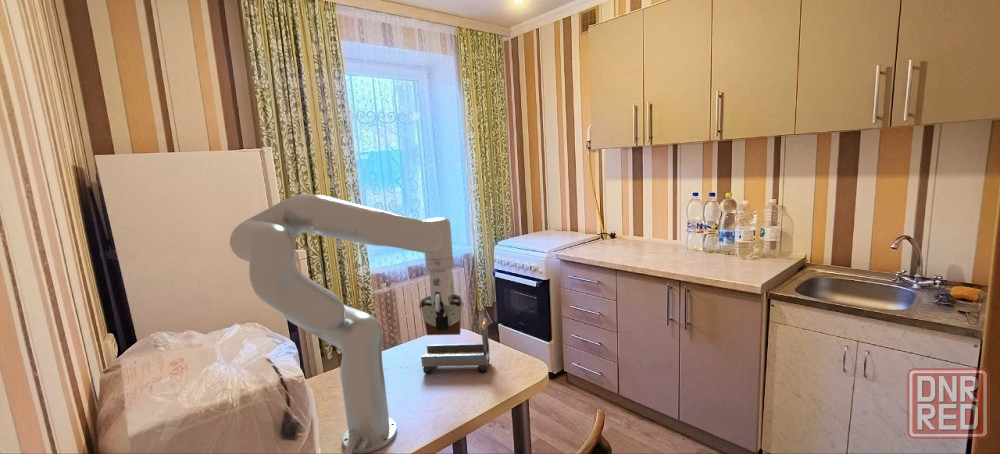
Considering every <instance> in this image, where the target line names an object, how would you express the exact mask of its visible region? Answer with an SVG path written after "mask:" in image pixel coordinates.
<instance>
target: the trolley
mask: <svg viewBox="0 0 1000 454" xmlns="http://www.w3.org/2000/svg"><path fill="white" fill-rule="evenodd" d="M480 330H481V338H482V339H481V340H482V343H449V344H445V343H444V344H443V343H441V344H440V343H439V344H427V345H426V350H427V351H426V353H425V355H423V354H422V355H421V356H420V358H421V367H423V368H422V370H423V373H424V374H426V375H431V374H432V373H433V372H434V368H435V367H461V366H462V367H463V366H465V367H467V366H477V370H478V372H479V373H480V374H485V373H487V372H488V369H489V365H488V364H489V363H490V359H491V358H490V352H491V351H490V342H489V331H488V330H489V328H488V318H486V317H484V318H483V320H482V323H481V327H480Z"/></svg>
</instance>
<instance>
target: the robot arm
mask: <svg viewBox="0 0 1000 454" xmlns="http://www.w3.org/2000/svg"><path fill="white" fill-rule="evenodd" d="M303 233H305V234H310V235H316V236H321V237H325V238H326V237H327V238H332V239H337V240H343V241H347V242H353V243H357V244H364V245H369V246H375V247H376V246H378V247H387V248H388V247H390V248H397V249H401V250H405V251H410V252H417V253H423V254H424V261H425V270H426V271H428V272H429V290H430V296H431V303H432V306H433V307H435V317H436V329H437V330H448V317H447V316H446V306H450V304H451V302H452V300H453V298H454V294H455V295H456V291H455V289H456V288H455V282H454V275H453V268H454V255H453V254H454V253H453V242H452V241H453V240H452V228H451V222H450V220H449V218H446V217H440V216H439V217H430V218H427V219H424V220H421V219H417V218H413V217H408V216H404V215H400V214H396V213H392V212H388V211H384V210H382V209H377V208H373V207H369V206H364V205H362V204H358V203H354V202H353V203H352V202H350V201H346V200H342V199H338V198H334V197H330V196H327V195H323V194H313V193H312V194H311V193H310V194H309V193H308V194H307V193H300V194H295V195H292V196H290V197H288V198H285V199H284V200H281V202H278V203H277V204H274V205H273V206H271V207H269V208H267V209H265V210H264V211H261V212H259V213H257V214H254V216H251V217H250V218H248V219H246V220H244V221H242V222H240V223H239V224H237V226H236V227H235V228H234V229H233V231H232V233H231V235H230V238H229V246H230V249H231V251H232V252H233V254H235V256H236V257H237V258H239V259H241V260H243V261H245V262H247V263H248V262H249V266H248V267H249V268H248V275H249V279H250V284H251V287H252V290H253V292H254V293H255V295H256V296H257V297H258V298H259V299H260V300H261V301H263V302H264V303H265V304H267V305H269V306H270V307H271V308H273V309H275V310H277V311H278V312H279V313H281V314H282V315H283V316H284V318H285V319H286V320H287V321H289V322H290V323H291V324H293V325H295V326H297V327H299V328H300V329H302V330H304V331H306V332H307V333H309V334H311V335H313V336H315V337H317V338H319V339H320V340H322V341H324V342H326V343H328V344H330V345H332V346H334V347H336V348H338V349H339V350H341V354H342V355H341V357H342V358H341V362H340V370H339V371H340V372H339V373H340V381H341V386H342V395H343V401H344V409H345V416H346V423H347V429H346V430H345V432H344V434H343V436H342V445H343V447H344V451H343V454H367V453H368V454H369V453H372V452H376V451H378V450H381V449H382V448H383V447H385V446H388V445H389V444H390V443H391V442H392V441H393V440H394V438H395V436H396V435H397V432H398V430H397V429H398V428H397V427H398V426H397V424H396V422H395V420H394V419H393V418H391V417H390V416H389V415H390V414H389V407H388V399H387V391H386V384H385V383H386V382H385V375H384V373H385V372H384V365H383V364H384V363H383V351H382V350H383V342H384V341H383V340H384V338H383V337H384V332H383V331H384V330H383V327H382V325H381V322H380V321H379V320H378V319H377V318H376V317H375V316H373V315H372V314H370V313H368V312H366V311H362V310H360V309H358V308H353V307H350V306H349V305H347V304H344V303H343V300H342V299H341V298H340V297H339V295H337V294H336V293H335V292H333V291H332V290H330V289H328V288H326V287H324V286H322V285H321V284H320V283H318V282H316V281H315V280H313V279H312V278H310V277H309V276H307V275H306V274H305V273H303V272H302V271H301V270H300V269H299V268H298V267H297V263H296V251H297V249H296V240H295V239H296V237H299V235H301V234H303ZM441 303H443V304H444V305H440V304H441ZM441 308H443V310H442V309H441Z"/></svg>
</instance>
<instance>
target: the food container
mask: <svg viewBox="0 0 1000 454" xmlns="http://www.w3.org/2000/svg"><path fill="white" fill-rule="evenodd" d="M440 305H444V304H443V303H441V304H440ZM418 306H419V307H418V308H419V309H421V314H422V318H423V323H424V327H425V332H426V336H460V335H461V333H462V332H461V331H462V330H461V329H462V328H461V326H462V324H461V323H462V307H464V302H463V299H462V297H461V296H459V295H458V294H456V293H455V294H454V298H453V300H452V302H451V304H450V306H446V316H447V317H448V330H437V329H436V317H435V307H433V306H432V303H431V295H429V296H426V297H424V298H422V299H421V300H420V302H419V305H418ZM441 309H442V310H443V308H441Z"/></svg>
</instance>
